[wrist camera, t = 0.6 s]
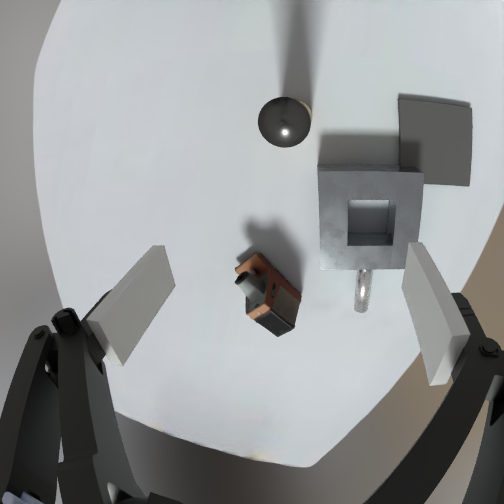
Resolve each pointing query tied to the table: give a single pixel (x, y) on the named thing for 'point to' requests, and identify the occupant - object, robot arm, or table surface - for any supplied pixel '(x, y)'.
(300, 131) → the gold and black cylinder
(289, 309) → the electronic device
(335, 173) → the block
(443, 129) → the pad
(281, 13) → the table surface
